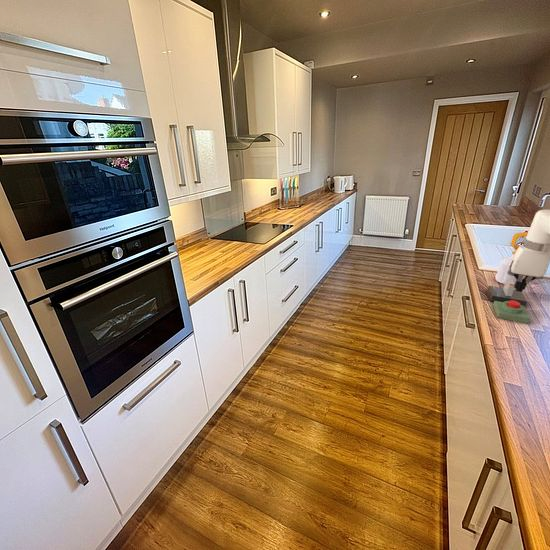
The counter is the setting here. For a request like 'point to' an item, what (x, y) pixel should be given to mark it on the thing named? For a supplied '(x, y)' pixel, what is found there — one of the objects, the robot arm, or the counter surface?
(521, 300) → the plate
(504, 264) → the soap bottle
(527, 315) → the button box
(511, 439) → the counter surface
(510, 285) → the tap handle
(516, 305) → the button
